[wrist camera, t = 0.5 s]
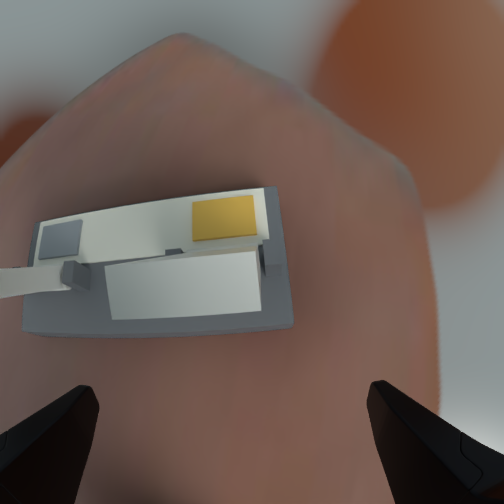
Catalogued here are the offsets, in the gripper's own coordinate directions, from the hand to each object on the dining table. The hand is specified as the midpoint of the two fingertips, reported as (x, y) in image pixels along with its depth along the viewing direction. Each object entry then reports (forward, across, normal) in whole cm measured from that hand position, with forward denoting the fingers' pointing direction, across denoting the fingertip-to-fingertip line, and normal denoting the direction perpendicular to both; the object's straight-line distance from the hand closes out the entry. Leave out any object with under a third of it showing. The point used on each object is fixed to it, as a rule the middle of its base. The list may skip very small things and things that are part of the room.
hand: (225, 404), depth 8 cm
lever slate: (+12, +15, 0) cm, 19 cm away
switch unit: (+15, +8, +3) cm, 17 cm away
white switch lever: (+12, +1, 0) cm, 12 cm away
